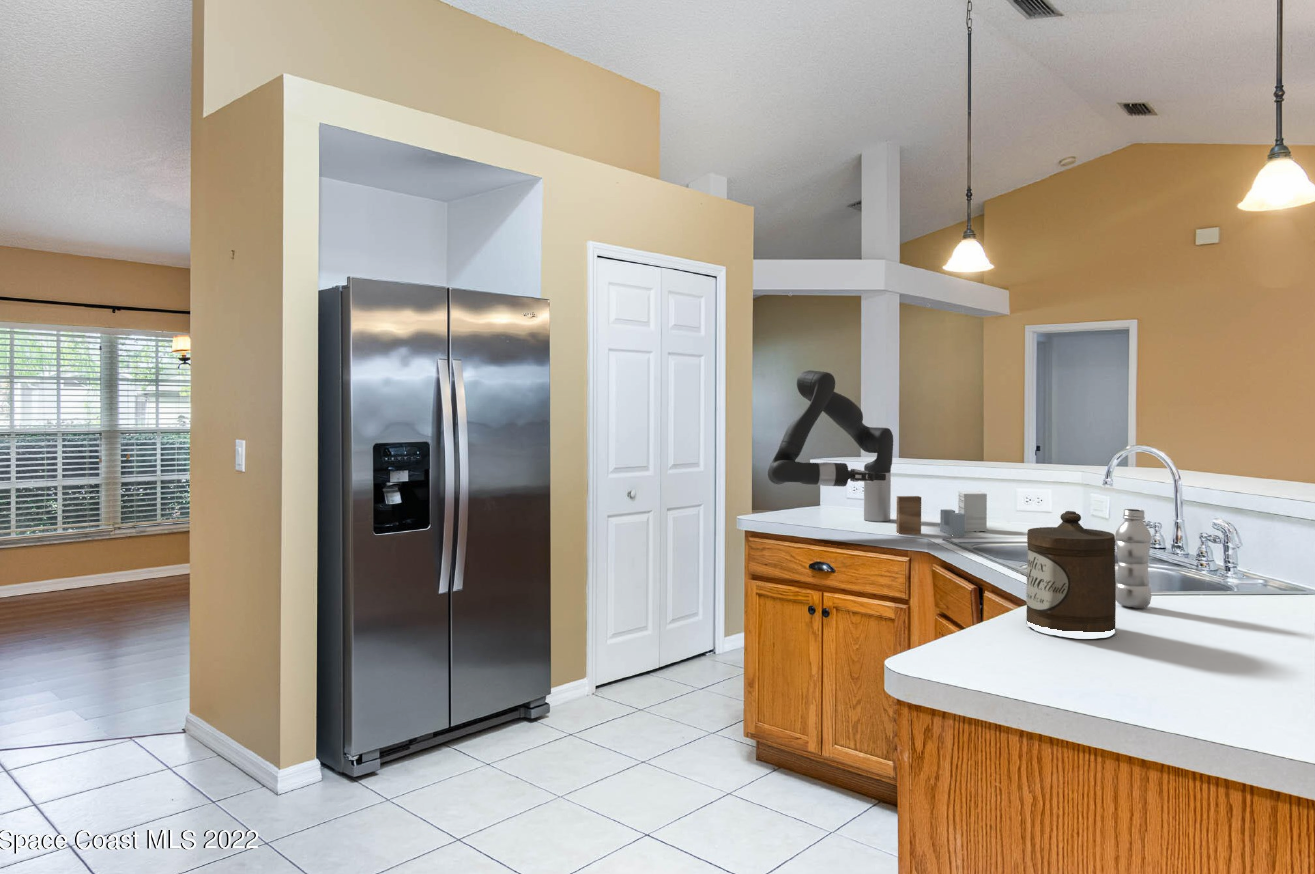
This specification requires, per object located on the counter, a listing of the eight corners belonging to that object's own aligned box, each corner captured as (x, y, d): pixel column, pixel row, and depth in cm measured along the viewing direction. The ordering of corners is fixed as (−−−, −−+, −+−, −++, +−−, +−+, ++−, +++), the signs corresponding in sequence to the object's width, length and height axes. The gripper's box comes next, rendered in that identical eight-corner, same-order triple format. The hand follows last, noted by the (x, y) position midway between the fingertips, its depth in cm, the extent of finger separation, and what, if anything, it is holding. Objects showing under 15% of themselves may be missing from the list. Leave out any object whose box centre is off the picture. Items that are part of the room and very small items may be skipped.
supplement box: (980, 528, 276) (980, 490, 276) (986, 532, 269) (987, 493, 268) (957, 528, 277) (957, 490, 276) (963, 531, 269) (963, 493, 269)
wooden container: (1013, 618, 161) (1014, 506, 160) (1090, 619, 161) (1092, 506, 160) (1046, 640, 146) (1048, 516, 146) (1131, 640, 146) (1134, 517, 145)
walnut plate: (896, 533, 267) (896, 496, 267) (918, 533, 267) (918, 496, 267) (899, 534, 264) (899, 497, 264) (921, 534, 264) (921, 497, 264)
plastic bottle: (1138, 612, 165) (1140, 513, 164) (1106, 605, 171) (1108, 509, 170) (1158, 608, 168) (1160, 510, 167) (1126, 601, 174) (1128, 507, 173)
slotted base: (940, 530, 272) (940, 509, 271) (951, 530, 272) (951, 509, 271) (953, 536, 260) (953, 514, 259) (964, 536, 260) (964, 514, 259)
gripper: (837, 463, 256) (889, 465, 257) (825, 461, 271) (874, 463, 272) (836, 487, 257) (888, 489, 258) (824, 484, 271) (873, 486, 272)
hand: (881, 476), depth 265 cm, fingers open, 8 cm apart
